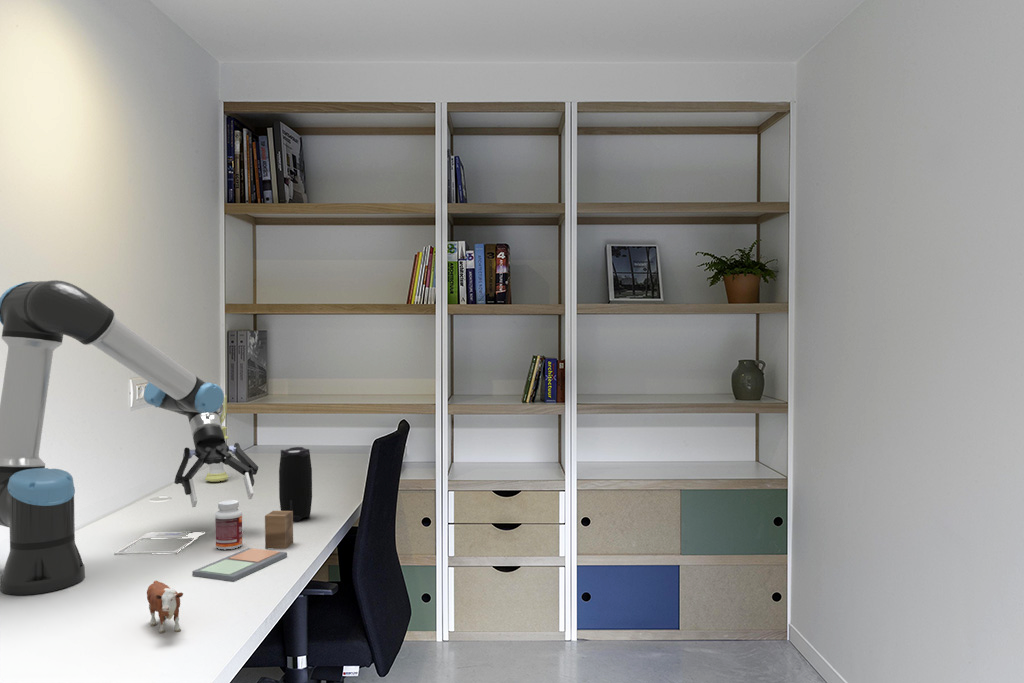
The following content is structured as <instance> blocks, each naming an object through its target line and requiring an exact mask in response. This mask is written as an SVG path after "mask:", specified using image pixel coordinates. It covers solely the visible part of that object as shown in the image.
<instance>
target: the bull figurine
mask: <svg viewBox="0 0 1024 683" xmlns="http://www.w3.org/2000/svg"><path fill="white" fill-rule="evenodd" d="M183 596H184V593H183V592H177V590H175V589H173V588H171V587H170V586H168V585H167V584H166V583H164V582H161V581H158V580H154V581H153V582H152V583H151V584H149V586H148V587H147V590H146V599H147V602H148V610H149V614H150V615H151V617H150V618H151V619H150V626H152V627H154V626H156V625H157V620H156V619H157V618H156V616H155V614H156V613H155V612H157V613H158V618H159V622H160V627H159V634H164V633H165V632H166V627H165V626H166V625H165V621H166V618H167V619H168V620H171V619H172V618H173V622H174V632H175V633H179V632H181V631H182V628H181V626H180V624H179V621H180V618H179V616H180V607H181V598H182V597H183Z"/></svg>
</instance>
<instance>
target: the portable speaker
mask: <svg viewBox="0 0 1024 683" xmlns="http://www.w3.org/2000/svg"><path fill="white" fill-rule="evenodd" d="M310 452H311V451H310V449H309V448H304V447H303V446H295V447H294V446H293V447H290V448H287V449H280V457H279V458H280V459H279V468H278V492H279V493H278V494H279V496H278V498H279V508H280V511H293V523H297V522H300V520H301V519H303V518H304V519H305V518H306V519H308V520H309V519H310V518H311V512H312V501H313V470H312V468H313V467H312V461H311V453H310Z"/></svg>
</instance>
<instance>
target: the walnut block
mask: <svg viewBox="0 0 1024 683" xmlns="http://www.w3.org/2000/svg"><path fill="white" fill-rule="evenodd" d="M264 525H265V526H264V538H265V544H264V546H265V549H268V548H273V550H274V549H276V550H278V549H280V550H282V549H283V550H285V549H288V547H290V546H291V545H292V544H294V522H293V511H281V510H272V511H270V512H269V513H267V514H266V515H264Z"/></svg>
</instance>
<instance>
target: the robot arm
mask: <svg viewBox="0 0 1024 683" xmlns="http://www.w3.org/2000/svg"><path fill="white" fill-rule="evenodd" d="M0 323H1V325H2V331H1V340H3V342H4V343H5V344H6V345H7V347H8V349H7V355H6V361H5V368H4V369H5V370H4V377H3V383H2V389H1V390H2V391H1V396H0V526H3V527H6V528H9V553H8V556H7V560H6V562H5V566H4V568H3V573H2V575H1V576H0V591H1V592H2V593H4V594H7V595H14V596H16V595H17V596H22V595H23V596H25V595H28V596H29V595H37V594H38V595H39V594H44V593H49V592H53V591H57V590H62V589H66V588H68V587H71V586H73V585H74V586H75V585H77V584H79V582H82V581H83V580H85V578H86V569H85V568H86V567H85V563H84V562H83V560H82V556H81V554H80V551H79V549H78V547H77V544H76V537H75V536H76V534H75V533H76V532H75V531H76V530H75V526H76V524H75V522H76V521H75V493H76V492H75V490H76V489H75V484H74V478H73V476H72V474H71V473H70V472H68V471H66V470H63V469H59V468H48V467H46V463H45V462H44V461H43V459H41V458H40V455H39V454H40V448H41V440H42V433H43V426H44V419H45V412H46V404H47V398H48V391H49V386H50V385H49V384H50V378H51V370H52V363H53V362H52V361H53V355H54V351H55V350H56V349H58V348H59V347H60V346H62V344H63V339H64V336H67V337H70V338H72V339H74V340H76V341H78V342H79V343H81V345H84V346H90V345H92V346H93V347H95V348H97V349H98V350H100V351H102V352H103V353H104V354H105V355H108V356H109V357H110V358H112V359H113V360H115V361H117V362H118V363H119V364H121V365H123V366H124V367H126V368H127V369H129V370H130V371H131V372H132V373H135V374H136V375H138V376H139V377H141V378H142V379H144V380H145V381H146V382H148V383H146V386H145V389H144V391H143V398H144V401H145V402H146V403H147V404H149V405H150V406H154V408H159V409H163V410H165V411H166V410H168V411H169V412H174V413H177V414H179V415H182V416H187V419H188V422H189V425H190V430H191V431H190V432H191V435H192V440H193V445H194V449H190V447H185V448H184V449H183V454H182V457H183V458H182V460H181V463H180V465H179V468H178V470H177V472H176V475H175V478H174V484H176V485H179V484H181V486H182V487H183V490H184V494H185V495H186V496H189V497H190V502H191V507H192V508H196V507H197V504H198V499H197V498H198V497H197V493H196V489H195V484H194V479H193V478H194V476H195V475H196V474H197V472H198V471H200V469H201V468H202V467H203V466H204V465H205V464H207V465H209V466H210V464H213V463H216V464H218V463H220V462H222V463H223V465H224V466H225V465H226V466H229V467H231V469H234V470H235V471H236V472H238V473H239V474H241V475H243V478H242V479H243V480H242V481H243V483H244V486H245V491H246V494H247V499H248V500H252V499H253V498H254V497H253V496H254V489H253V487H254V484H255V479H254V476H255V475H257V473H258V470H259V466H258V465H257V463H255V462H254V461H253V460H252V459H251V458H250V456H249V455H248V454H246V453H245V451H244V450H243V449H242V448H241V446H240V444H239V442H235V443H234V444H233V445H229V446H228V445H227V442H226V439H225V438H224V434H223V431H222V427H221V423H220V419H219V415H218V411H217V410H218V409H219V408H220V407H221V406H222V404H223V401H224V398H225V394H224V391H223V389H222V387H221V386H220V385H218V384H216V383H212V382H206V381H204V380H202V379H201V378H199V377H198V376H197V375H196V374H194V373H192V372H191V371H189V370H188V369H186V368H185V367H184V366H182V365H181V364H180V363H178V362H177V361H175V360H174V359H173V358H171V357H170V356H168V355H167V354H166V353H164V351H162V350H160V349H159V348H158V347H156V346H155V345H153V344H152V343H151V342H149V341H148V340H147V339H145V338H144V337H142V336H141V335H140V334H138V333H136V331H135V330H132V329H131V328H130V327H128V326H127V325H125V324H124V323H123V322H122V321H120V320H119V319H117V318H116V313H115V311H114V310H113V309H111V308H110V307H108V305H106V304H104V302H102V301H100V300H99V299H97V298H96V297H95V296H93V295H92V294H91V293H88V292H87V291H85V290H84V289H82V288H81V287H80V286H77V285H75V284H73V283H70V282H67V281H63V280H57V279H54V280H44V281H43V280H42V281H41V280H39V281H24V282H22V283H19V284H15V285H13V286H11V287H9V288H8V289H6V290H5V291H4V292H3V293H2V294H1V296H0ZM230 452H231V453H230ZM233 455H234V456H233ZM193 456H195V457H196V458H197V460H196V461H195V463H193V465H192V466H191V467H190V469H189V470H188V471H187V472H186V474H184V473H185V471H186V468H187V466H188V464H189V460H190V459H192V458H193ZM183 475H184V476H183Z"/></svg>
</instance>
